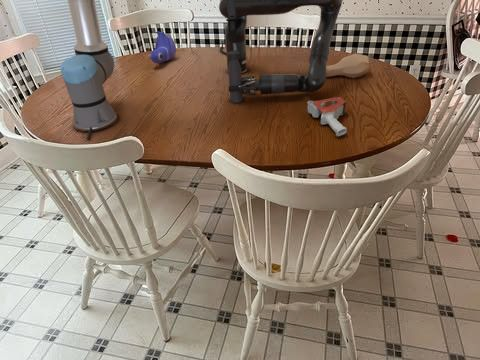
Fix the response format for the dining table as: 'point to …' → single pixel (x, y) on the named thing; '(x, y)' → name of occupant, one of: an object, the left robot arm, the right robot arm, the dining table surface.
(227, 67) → the right robot arm
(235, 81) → the bottle
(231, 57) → the cap
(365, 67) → the squash
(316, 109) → the tape dispenser
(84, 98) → the left robot arm
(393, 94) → the dining table surface
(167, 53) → the toy
